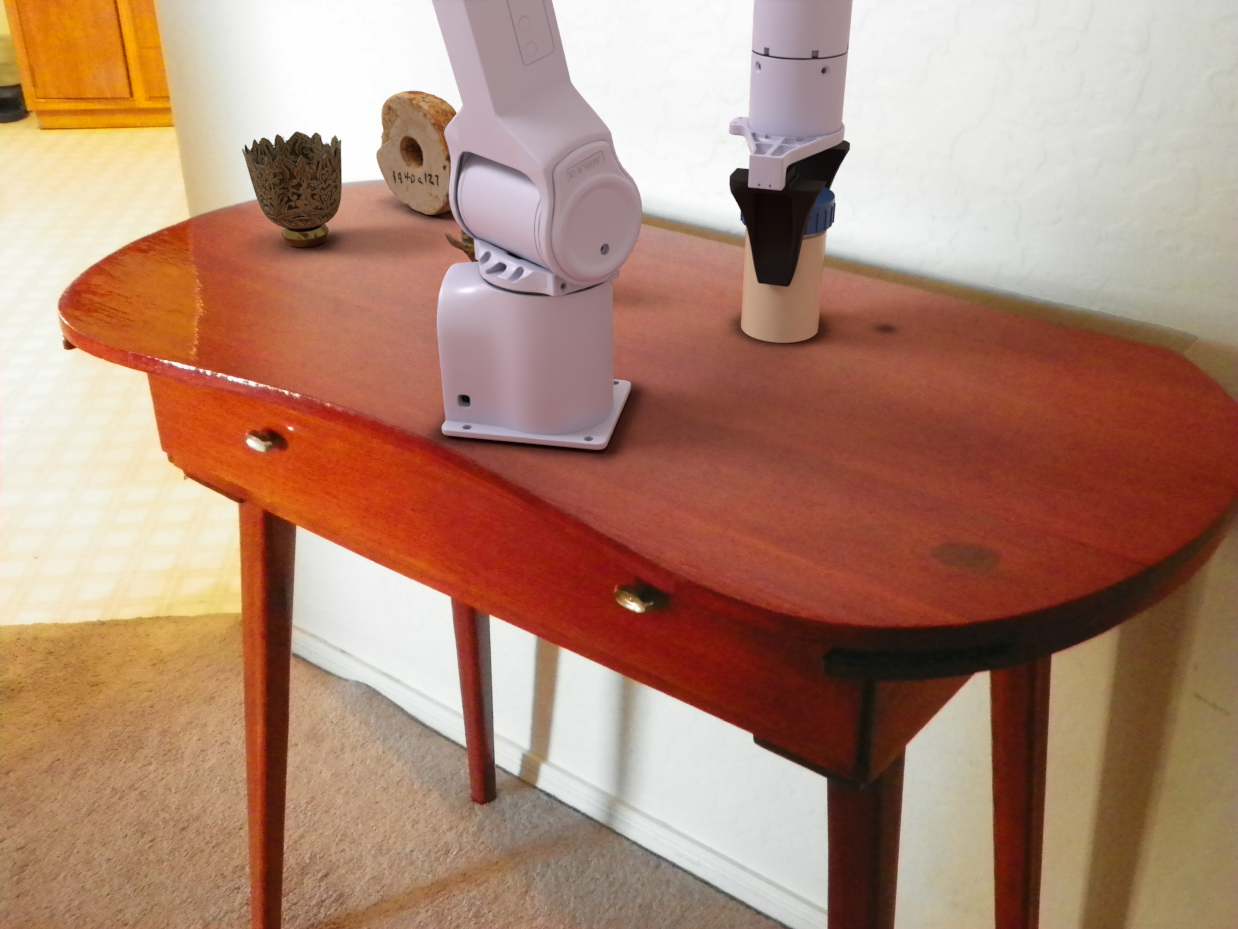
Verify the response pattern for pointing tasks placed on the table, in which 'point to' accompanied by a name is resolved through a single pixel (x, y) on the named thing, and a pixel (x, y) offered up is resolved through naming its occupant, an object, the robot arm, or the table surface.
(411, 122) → the stone disc
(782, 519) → the table surface
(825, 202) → the lid
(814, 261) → the jar
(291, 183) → the cup
